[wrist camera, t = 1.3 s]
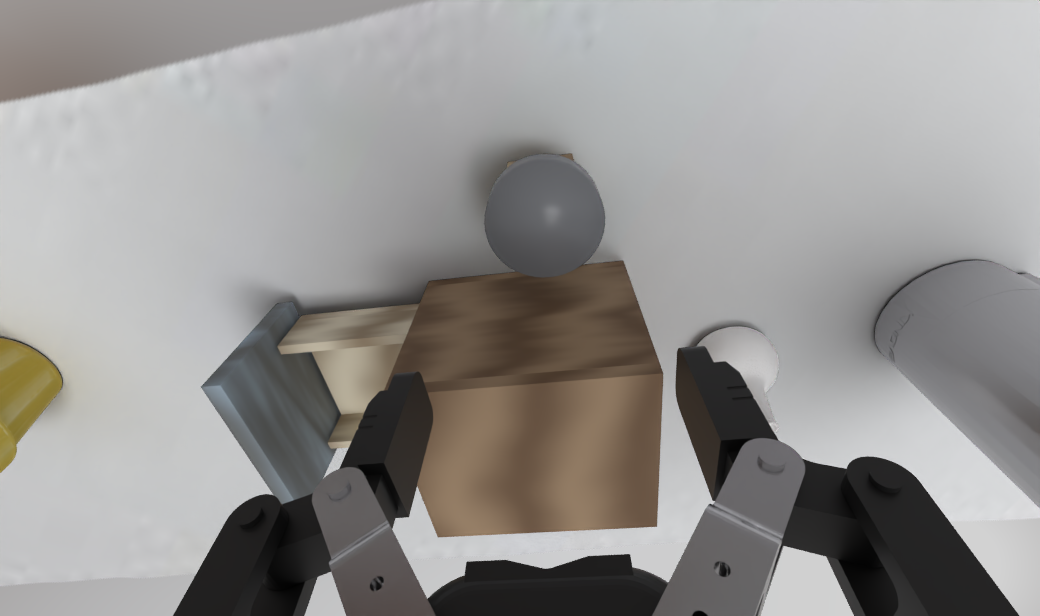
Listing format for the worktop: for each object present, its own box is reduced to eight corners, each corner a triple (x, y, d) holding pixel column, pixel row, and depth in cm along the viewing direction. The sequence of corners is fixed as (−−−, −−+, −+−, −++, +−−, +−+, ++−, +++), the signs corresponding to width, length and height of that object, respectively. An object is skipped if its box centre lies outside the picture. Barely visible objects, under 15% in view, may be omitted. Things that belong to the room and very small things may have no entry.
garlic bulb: (669, 352, 37) (690, 433, 30) (735, 305, 34) (774, 384, 27) (719, 390, 39) (749, 473, 32) (787, 349, 36) (834, 432, 29)
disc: (598, 146, 24) (602, 156, 22) (602, 255, 27) (607, 271, 26) (478, 162, 25) (474, 172, 23) (497, 266, 28) (495, 282, 26)
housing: (623, 260, 32) (663, 373, 22) (625, 392, 38) (656, 526, 28) (428, 281, 33) (381, 396, 23) (463, 405, 40) (438, 537, 30)
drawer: (464, 284, 32) (442, 366, 25) (493, 411, 39) (483, 507, 31) (261, 305, 34) (181, 388, 26) (323, 424, 40) (273, 518, 33)
